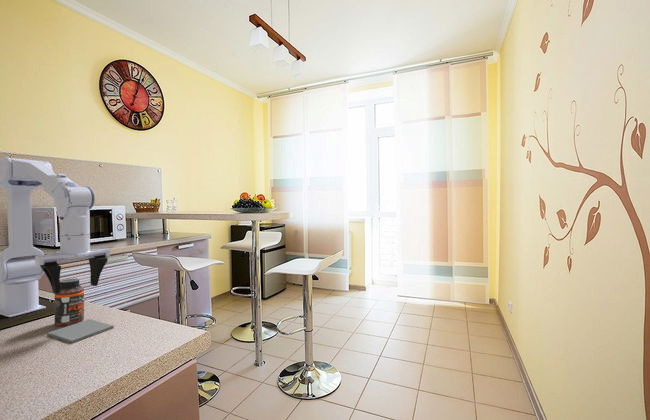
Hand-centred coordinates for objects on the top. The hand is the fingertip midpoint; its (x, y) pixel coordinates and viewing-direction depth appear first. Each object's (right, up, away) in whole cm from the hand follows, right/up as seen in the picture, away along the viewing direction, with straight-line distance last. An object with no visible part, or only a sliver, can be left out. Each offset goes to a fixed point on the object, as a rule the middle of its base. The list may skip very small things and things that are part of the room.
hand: (76, 288), depth 75 cm
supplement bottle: (-5, -10, +4) cm, 12 cm away
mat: (+2, -10, -1) cm, 11 cm away
